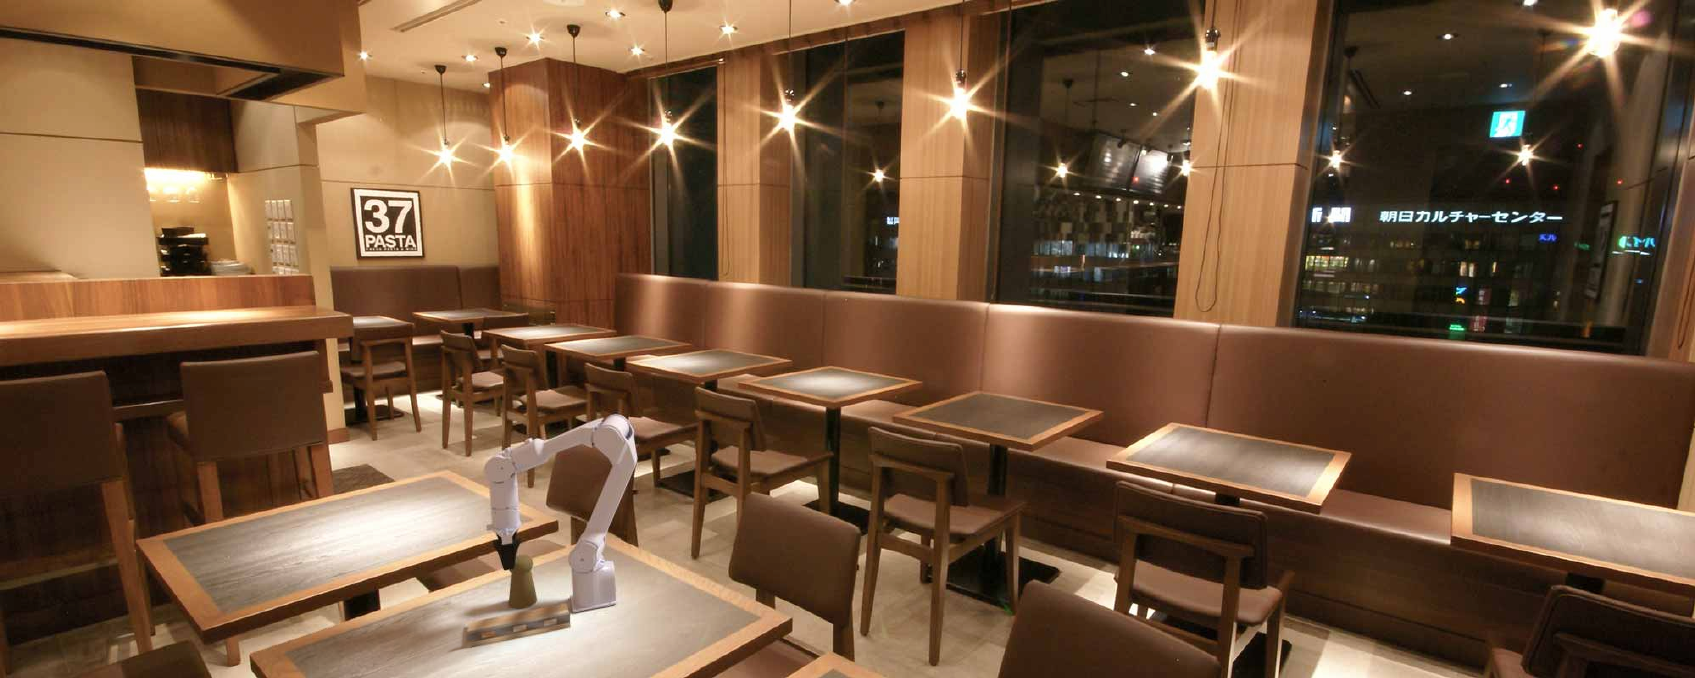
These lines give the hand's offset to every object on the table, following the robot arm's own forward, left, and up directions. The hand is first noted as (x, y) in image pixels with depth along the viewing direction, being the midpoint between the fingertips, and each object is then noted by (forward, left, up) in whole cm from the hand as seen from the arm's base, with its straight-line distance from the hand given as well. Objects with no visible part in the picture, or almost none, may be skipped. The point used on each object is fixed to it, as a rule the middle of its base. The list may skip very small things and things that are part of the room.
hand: (508, 562), depth 169 cm
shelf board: (-1, +11, -10) cm, 15 cm away
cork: (-2, 0, -11) cm, 11 cm away
